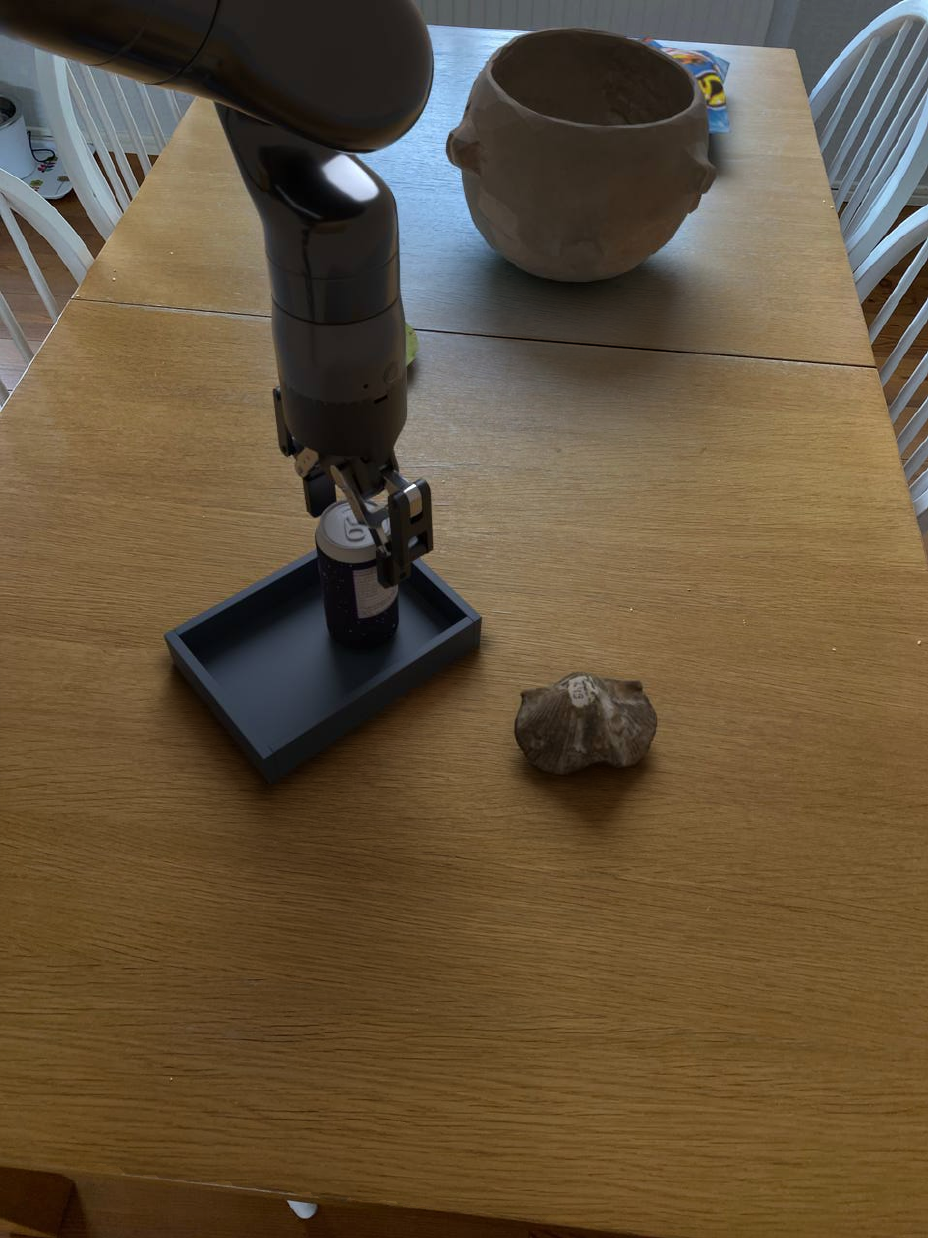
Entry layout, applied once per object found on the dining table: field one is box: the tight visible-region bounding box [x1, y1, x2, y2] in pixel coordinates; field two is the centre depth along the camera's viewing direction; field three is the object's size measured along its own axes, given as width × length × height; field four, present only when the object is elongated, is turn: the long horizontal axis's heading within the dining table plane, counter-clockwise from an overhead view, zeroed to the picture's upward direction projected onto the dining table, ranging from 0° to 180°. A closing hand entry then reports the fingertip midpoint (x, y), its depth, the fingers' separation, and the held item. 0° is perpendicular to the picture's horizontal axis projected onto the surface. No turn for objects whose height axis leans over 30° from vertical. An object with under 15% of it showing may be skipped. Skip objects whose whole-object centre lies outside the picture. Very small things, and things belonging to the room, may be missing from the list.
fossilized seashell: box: [513, 671, 658, 776], centre depth 69 cm, size 8×7×10 cm
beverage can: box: [314, 498, 399, 649], centre depth 71 cm, size 6×6×12 cm
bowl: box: [445, 26, 717, 283], centre depth 103 cm, size 27×29×20 cm
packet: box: [637, 35, 731, 135], centre depth 128 cm, size 17×24×8 cm
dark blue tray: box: [163, 548, 483, 785], centre depth 74 cm, size 20×14×4 cm
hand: (357, 544), depth 68 cm, fingers open, 8 cm apart
